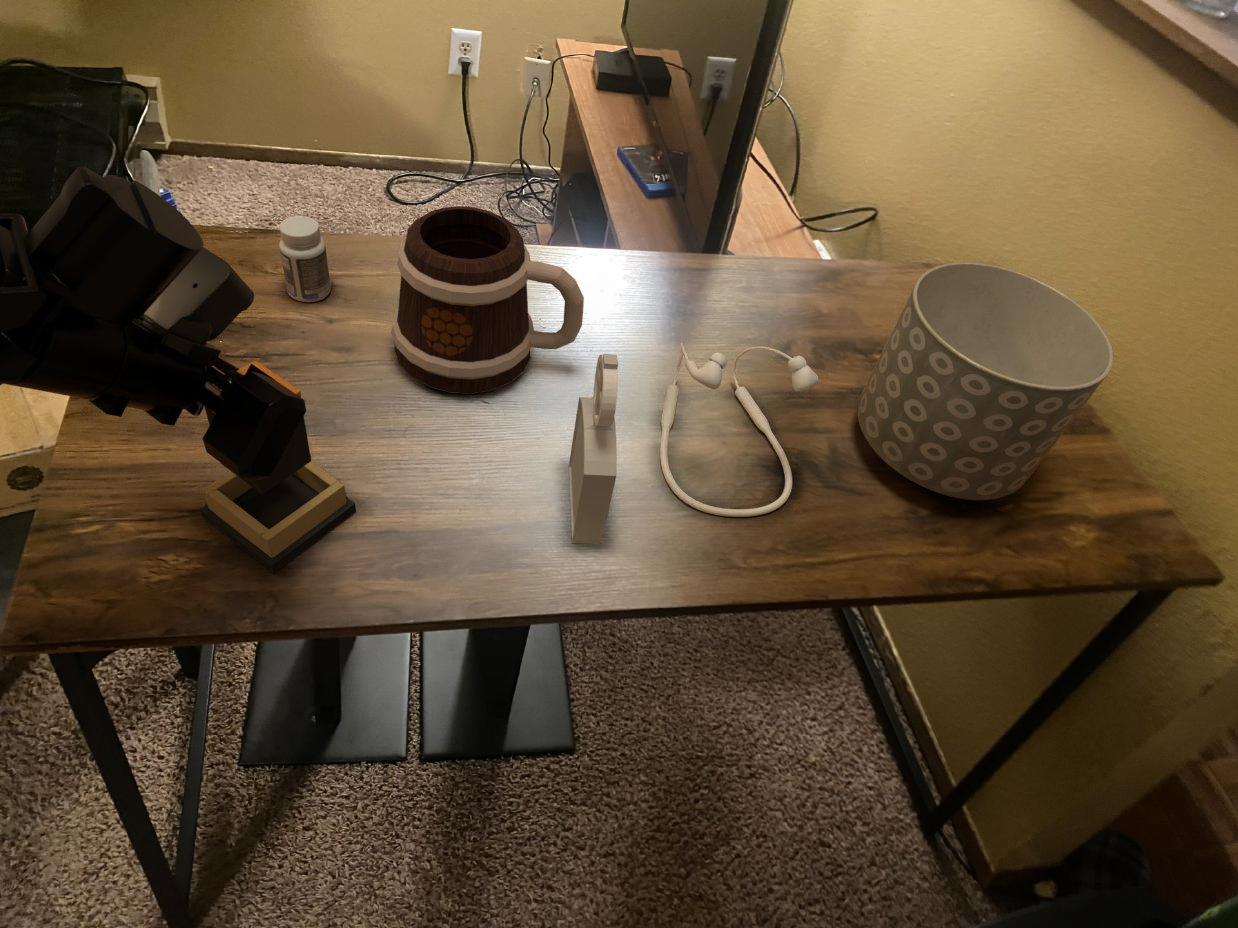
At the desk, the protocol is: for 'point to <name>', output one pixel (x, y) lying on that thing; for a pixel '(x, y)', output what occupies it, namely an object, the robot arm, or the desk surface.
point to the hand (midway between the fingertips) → (268, 396)
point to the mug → (472, 301)
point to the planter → (980, 379)
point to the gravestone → (594, 455)
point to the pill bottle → (304, 259)
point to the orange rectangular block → (294, 452)
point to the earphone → (712, 379)
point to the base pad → (277, 513)
